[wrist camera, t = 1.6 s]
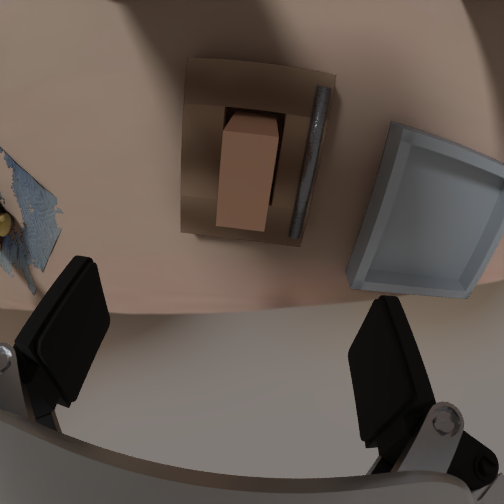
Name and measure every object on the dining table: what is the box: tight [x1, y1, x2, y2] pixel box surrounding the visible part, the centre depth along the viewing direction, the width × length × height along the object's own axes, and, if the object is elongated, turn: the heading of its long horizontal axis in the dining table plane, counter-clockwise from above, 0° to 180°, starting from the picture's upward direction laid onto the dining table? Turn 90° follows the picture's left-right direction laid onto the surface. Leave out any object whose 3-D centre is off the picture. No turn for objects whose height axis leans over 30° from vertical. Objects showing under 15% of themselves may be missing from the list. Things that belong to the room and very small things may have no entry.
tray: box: [346, 121, 504, 299], centre depth 24 cm, size 15×15×2 cm
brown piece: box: [181, 58, 336, 247], centre depth 22 cm, size 14×10×2 cm
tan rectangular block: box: [216, 111, 279, 232], centre depth 20 cm, size 6×3×7 cm, turn 173°
